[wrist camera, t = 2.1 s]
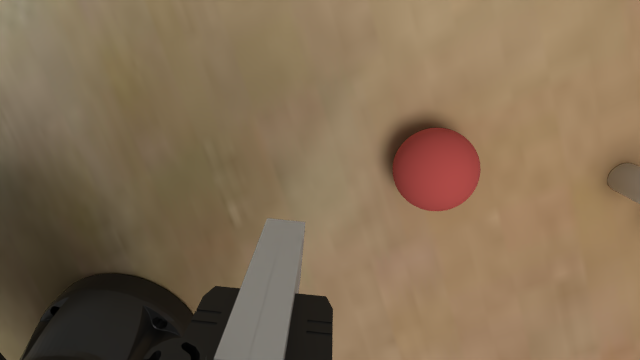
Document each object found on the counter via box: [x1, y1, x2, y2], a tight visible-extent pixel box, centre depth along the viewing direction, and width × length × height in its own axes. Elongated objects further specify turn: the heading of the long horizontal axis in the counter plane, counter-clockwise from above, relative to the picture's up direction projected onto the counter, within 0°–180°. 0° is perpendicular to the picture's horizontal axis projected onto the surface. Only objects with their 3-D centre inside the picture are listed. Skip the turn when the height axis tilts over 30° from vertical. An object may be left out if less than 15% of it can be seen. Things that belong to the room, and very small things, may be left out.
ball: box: [393, 128, 480, 211], centre depth 26 cm, size 6×6×6 cm
